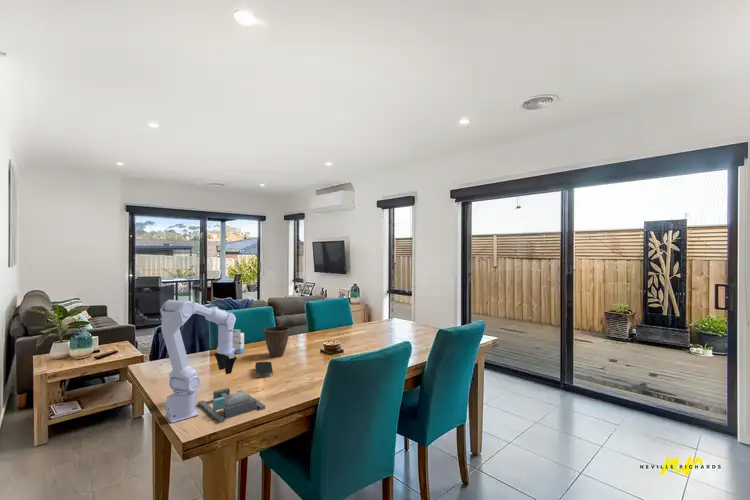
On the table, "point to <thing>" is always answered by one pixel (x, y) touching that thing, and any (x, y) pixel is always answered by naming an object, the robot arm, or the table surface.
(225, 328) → the robot arm
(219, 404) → the sliding jaw
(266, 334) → the plant pot
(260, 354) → the table surface
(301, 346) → the table surface
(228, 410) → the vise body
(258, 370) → the black sponge
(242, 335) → the ink box
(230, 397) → the steel block
